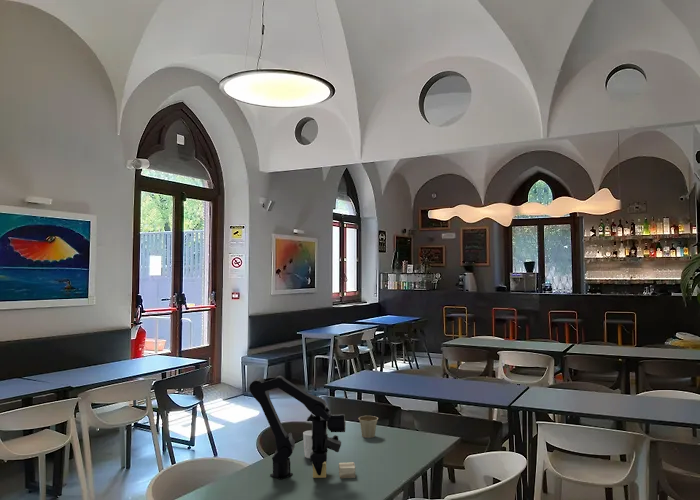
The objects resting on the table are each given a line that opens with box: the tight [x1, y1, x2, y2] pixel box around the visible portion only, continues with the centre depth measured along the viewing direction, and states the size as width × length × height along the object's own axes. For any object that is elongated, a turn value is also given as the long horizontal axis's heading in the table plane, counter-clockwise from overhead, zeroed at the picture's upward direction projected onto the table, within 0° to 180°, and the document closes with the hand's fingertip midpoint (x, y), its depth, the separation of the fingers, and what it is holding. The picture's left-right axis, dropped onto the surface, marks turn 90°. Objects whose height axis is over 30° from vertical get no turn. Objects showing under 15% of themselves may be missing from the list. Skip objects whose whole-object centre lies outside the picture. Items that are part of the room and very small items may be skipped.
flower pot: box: [358, 415, 379, 439], centre depth 266 cm, size 9×9×9 cm
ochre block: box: [312, 461, 327, 479], centre depth 216 cm, size 5×5×5 cm
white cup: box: [302, 429, 313, 459], centre depth 239 cm, size 8×8×10 cm
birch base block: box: [338, 461, 356, 479], centre depth 216 cm, size 6×6×4 cm
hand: (319, 472), depth 216 cm, fingers closed on ochre block, 5 cm apart
